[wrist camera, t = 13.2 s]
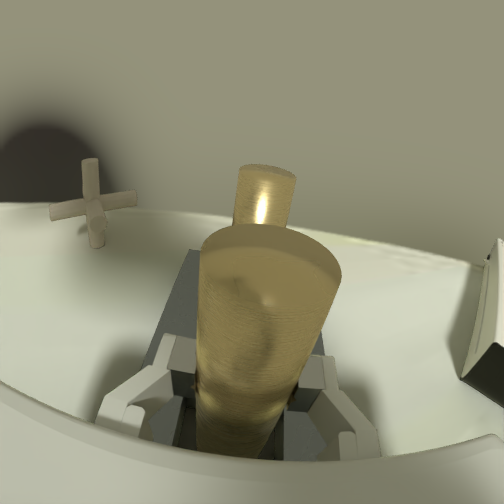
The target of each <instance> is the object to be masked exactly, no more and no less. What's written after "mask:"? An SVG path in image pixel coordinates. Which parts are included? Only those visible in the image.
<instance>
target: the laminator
mask: <svg viewBox="0 0 504 504" xmlns="http://www.w3.org/2000/svg"><path fill="white" fill-rule="evenodd" d="M484 262H485V265H484V272H483V280H482V287H481V293H480V299H479V305H478V311H477V316H476V321H475V325H474V330H473V334H472V338H471V342H470V346H469V350H468V354H467V358H466V361H465V365H464V368H463V371H462V374H461V378H460V380H461V381H464V382H466V383H467V384H469V385H470V386H472V387H474V388H475V389H477V390H478V391H480V392H481V393H483V394H484V395H486V396H487V397H488V398H490V399H492V400H493V401H495V402H496V403H497V404H499V405H501V406H502V407H503V408H504V241H503V240H501V239H500V238H497V240H496V242H495V244H494V246H493V248H492V250H491V252H490V254H489V255H488V257H487V259H486V258H484Z"/></svg>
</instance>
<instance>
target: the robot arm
mask: <svg viewBox="0 0 504 504" xmlns="http://www.w3.org/2000/svg"><path fill="white" fill-rule="evenodd" d="M196 371H197V366H196V339H192V338H187V337H182V336H178V335H173V334H168V333H165V334H164V335H163V337H162V339H161V342H160V345H159V348H158V351H157V353H156V356H155V359H154V362H153V365H152V366H151V365H148V366H146V367H145V368H144V369H142V370H141V371H139V372H138V373H137V374H135V375H134V376H132V377H131V378H129V379H128V380H127V381H125V382H124V383H122V384H121V385H120V386H118V387H117V388H115V389H114V390H112V391H111V392H109V393H108V394H107V395H105V397H104V399H103V402H102V404H101V407H100V409H99V412H98V414H97V417H96V419H95V422H94V424H93V423H90V422H88V421H85V420H82V419H80V418H77V417H75V416H72V415H70V414H67V413H65V412H63V411H60V410H58V409H56V408H53V407H51V406H49V405H47V404H45V403H42V402H40V401H38V400H36V399H34V398H32V397H30V396H28V395H26V394H24V393H22V392H20V391H18V390H16V389H15V388H13V387H11V386H9V385H7V384H6V383H4V382H2V381H0V504H504V442H503V441H502V440H501V439H500V438H499V437H498V436H496V435H495V434H488V435H485V436H482V437H478V438H475V439H471V440H468V441H464V442H461V443H457V444H453V445H449V446H444V447H440V448H435V449H431V450H425V451H420V452H415V453H409V454H402V455H395V456H388V457H381V453H380V446H379V440H378V434H377V429H376V428H375V427H374V426H373V425H372V424H371V423H370V421H369V420H368V419H367V418H366V417H365V416H364V415H363V413H362V412H361V411H360V410H359V409H358V408H357V407H356V405H355V404H354V403H353V402H352V401H351V400H350V399H349V397H348V396H347V395H346V394H345V393H344V392H343V390H339V386H338V380H337V373H336V367H335V360H334V357H333V356H322V355H312V354H310V356H309V358H308V361H307V363H306V365H305V367H304V369H303V371H302V373H301V375H300V378H299V380H298V382H297V384H296V386H295V388H294V390H293V392H292V394H291V396H290V398H289V400H288V402H287V404H286V407H287V411H295V412H308V413H307V414H308V416H309V417H310V419H311V421H312V422H313V424H314V425H315V427H316V428H317V430H318V431H319V433H320V435H321V436H322V438H323V439H324V441H325V442H326V444H327V445H328V446H327V447H326V448H325V449H324V450H323V451H322V452H320V453H319V454H318V455H317V461H279V460H263V459H251V458H241V457H233V456H225V455H218V454H211V453H205V452H199V451H193V450H188V449H183V448H178V447H173V446H169V445H165V444H160V443H156V442H152V441H153V437H154V436H153V433H152V431H151V428H150V425H149V422H148V420H149V419H150V418H151V417H152V416H153V415H154V414H155V413H156V412H157V411H158V410H160V409H161V408H162V407H163V406H164V405H165V404H166V403H167V402H168V401H169V400H170V399H171V398H172V397H173V395H175V396H181V397H186V398H192V399H195V396H196Z"/></svg>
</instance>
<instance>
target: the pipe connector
mask: <svg viewBox="0 0 504 504" xmlns="http://www.w3.org/2000/svg"><path fill="white" fill-rule="evenodd" d="M98 171H99V170H98V159H97V158H88V159H84V160H82V177H83V195H84V198H81V199H76V200H71V201H65V202H60V203H55V204H50V205H49V212H50V218H51V221H56V220H61V219H66V218H71V217H76V216H81V215H86V219H87V227H88V234H89V241H90V246H91V247H92V248H100V247H102V246H104V244H105V241H104V233H103V231H104V230H105V229H106V227H107V224H108V222H107V219H106V216H105V213H104V211H108V210H113V209H119V208H125V207H131V206H137V194H136V191H135V190H129V191H123V192H117V193H111V194H104V195H100V188H99V172H98Z"/></svg>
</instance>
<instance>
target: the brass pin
mask: <svg viewBox="0 0 504 504" xmlns="http://www.w3.org/2000/svg"><path fill="white" fill-rule="evenodd" d="M341 277H342V275H341V269H340V266H339V264H338V261H337V260H336V258H335V257H334V256H333V255H332V253H331V252H330V251H329V250H328V249H327V248H325V247H324V246H323V245H322V244H320V243H319V242H317V241H316V240H314V239H312V238H310V237H308V236H306V235H304V234H302V233H300V232H297V231H294V230H291V229H288V228H284V227H280V226H275V225H268V224H255V223H254V224H239V225H233V226H229V227H226V228H223V229H220V230H218V231H216V232H214V233H213V234H211V235H210V236H209V237H208V238H207V239H206V240H205V242H204V243H203V245H202V247H201V251H200V264H199V284H198V307H197V339H196V366H197V371H196V443H197V451H199V452H205V453H211V454H218V455H225V456H233V457H241V458H251V459H257V457H258V456H259V454H260V452H261V450H262V449H263V447H264V445H265V443H266V442H267V440H268V438H269V436H270V434H271V432H272V431H273V429H274V427H275V425H276V423H277V421H278V419H279V417H280V416H281V414H282V412H283V410H284V408H285V406H286V404H287V402H288V400H289V398H290V396H291V394H292V392H293V390H294V388H295V386H296V384H297V382H298V380H299V378H300V375H301V373H302V371H303V369H304V367H305V365H306V363H307V361H308V358H309V356H310V354H311V352H312V350H313V347H314V345H315V343H316V341H317V338H318V336H319V334H320V331H321V329H322V327H323V324H324V322H325V320H326V317H327V315H328V313H329V310H330V308H331V305H332V303H333V300H334V298H335V295H336V293H337V290H338V288H339V285H340V283H341Z"/></svg>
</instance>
